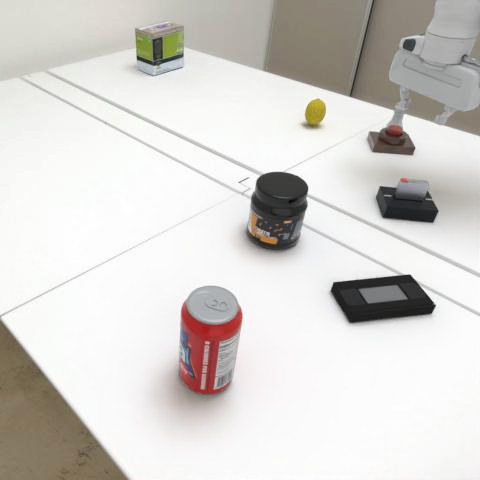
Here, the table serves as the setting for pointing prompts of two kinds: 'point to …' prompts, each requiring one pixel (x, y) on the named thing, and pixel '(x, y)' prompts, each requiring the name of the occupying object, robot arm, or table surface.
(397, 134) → the button
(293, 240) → the supplement container
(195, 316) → the soda can
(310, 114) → the lemon
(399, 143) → the button block
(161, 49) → the tea box
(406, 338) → the table surface
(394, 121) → the rook chess piece
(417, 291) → the vhs tape
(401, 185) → the grey rocker switch
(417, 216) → the plate
